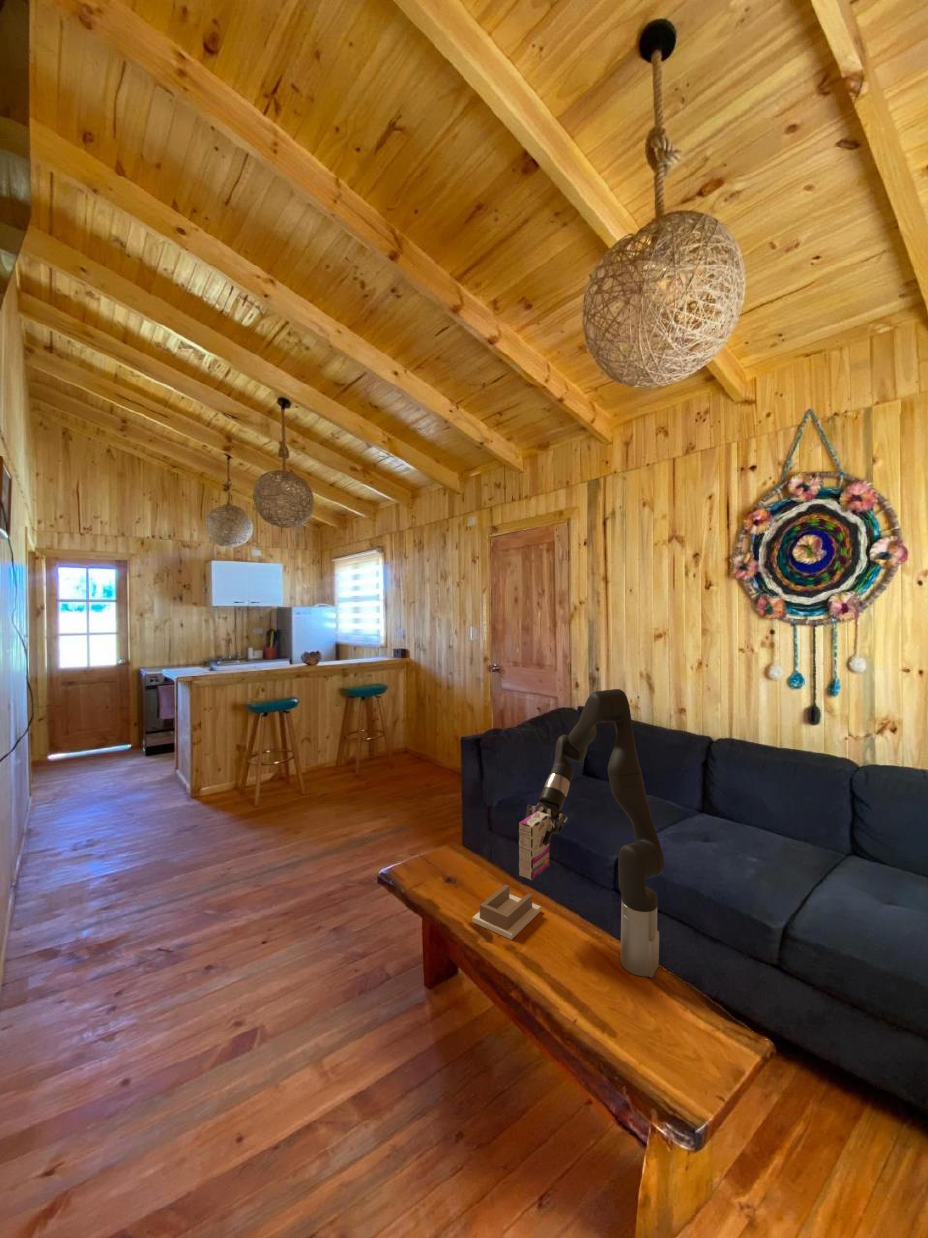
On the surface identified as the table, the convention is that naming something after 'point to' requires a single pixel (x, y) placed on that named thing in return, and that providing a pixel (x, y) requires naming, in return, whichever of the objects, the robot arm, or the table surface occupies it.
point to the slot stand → (506, 913)
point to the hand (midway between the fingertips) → (536, 841)
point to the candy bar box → (533, 845)
